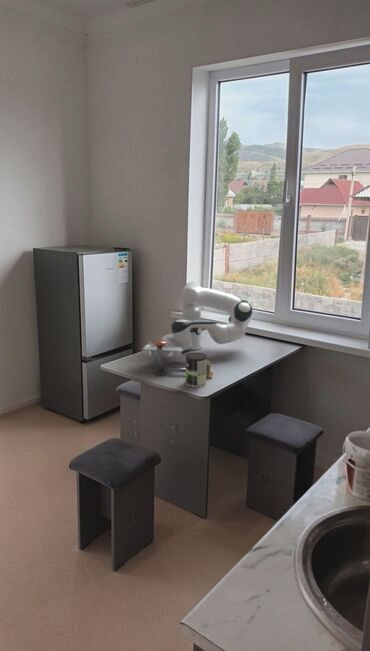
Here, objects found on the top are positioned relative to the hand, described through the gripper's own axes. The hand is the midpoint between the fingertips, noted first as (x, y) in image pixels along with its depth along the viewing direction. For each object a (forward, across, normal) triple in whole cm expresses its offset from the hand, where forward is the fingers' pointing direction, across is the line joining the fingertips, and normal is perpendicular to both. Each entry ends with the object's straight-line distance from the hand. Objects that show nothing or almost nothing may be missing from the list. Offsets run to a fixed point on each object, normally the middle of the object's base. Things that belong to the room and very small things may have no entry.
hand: (159, 355), depth 254 cm
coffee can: (+11, -20, -10) cm, 25 cm away
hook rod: (0, -8, -9) cm, 12 cm away
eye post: (0, -24, -10) cm, 25 cm away
